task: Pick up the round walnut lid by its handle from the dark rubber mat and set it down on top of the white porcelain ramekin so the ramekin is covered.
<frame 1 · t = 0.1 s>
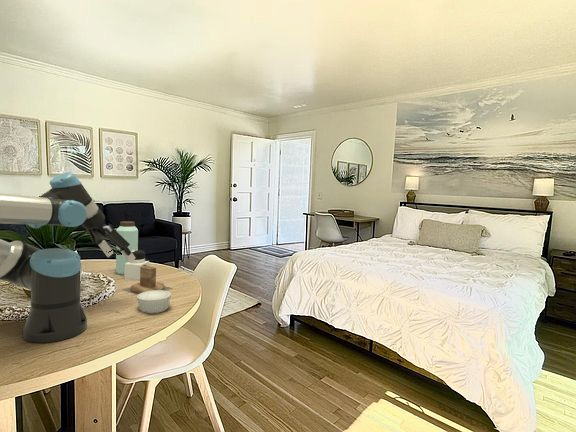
hand: (121, 257, 125), 15 cm above the table, tool tilted 35°, fingers open, 13 cm apart
water bottle: (126, 273, 159), on the table
ramekin: (153, 309, 116), on the table
mat: (147, 290, 135), on the table
container: (136, 278, 151), on the table
lid: (147, 289, 135), resting on mat
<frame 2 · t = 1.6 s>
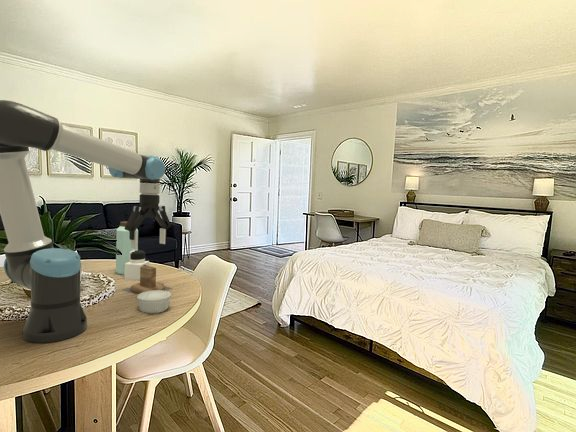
hand: (148, 245, 134), 19 cm above the table, tool pointing down, fingers open, 13 cm apart
nothing on the table moved.
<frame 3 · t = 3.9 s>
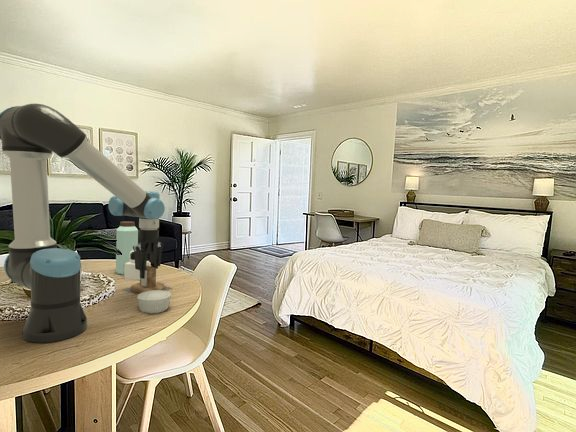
hand: (147, 284, 135), 2 cm above the table, tool pointing down, fingers closed on lid, 3 cm apart
lid: (147, 288, 135), point 1 cm above the table, touching gripper, mat
everything else where it was.
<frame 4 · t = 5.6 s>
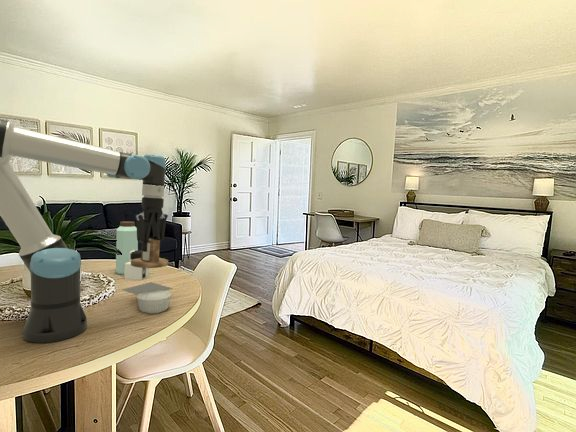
hand: (149, 259, 122), 16 cm above the table, tool pointing down, fingers closed on lid, 3 cm apart
lid: (149, 264, 123), point 14 cm above the table, touching gripper
everything else where it was.
when the fingers open (8 cm above the table, at t = 7.8 s): lid drops 1 cm, resting on ramekin.
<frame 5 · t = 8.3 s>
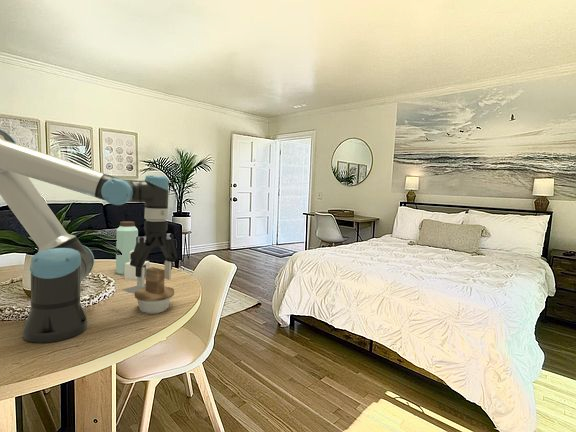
hand: (154, 282, 115), 10 cm above the table, tool pointing down, fingers open, 10 cm apart
ramekin: (153, 309, 116), on the table, touching lid
lid: (154, 294, 115), point 5 cm above the table, touching ramekin
everything else where it was.
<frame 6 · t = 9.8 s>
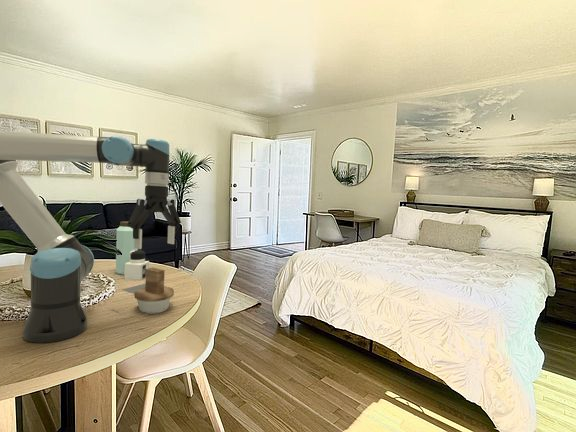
hand: (155, 246, 114), 23 cm above the table, tool pointing down, fingers open, 13 cm apart
nothing on the table moved.
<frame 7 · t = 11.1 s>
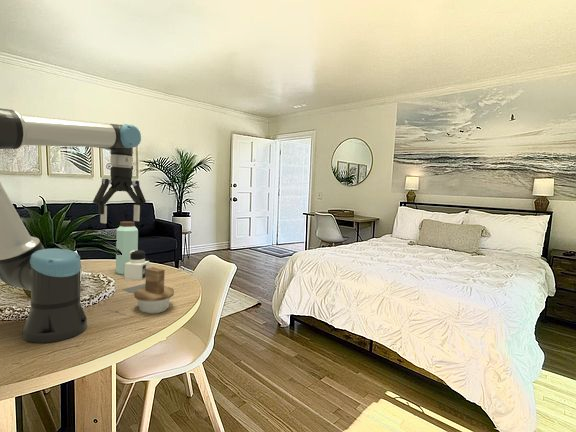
hand: (120, 222, 126), 29 cm above the table, tool pointing down, fingers open, 13 cm apart
nothing on the table moved.
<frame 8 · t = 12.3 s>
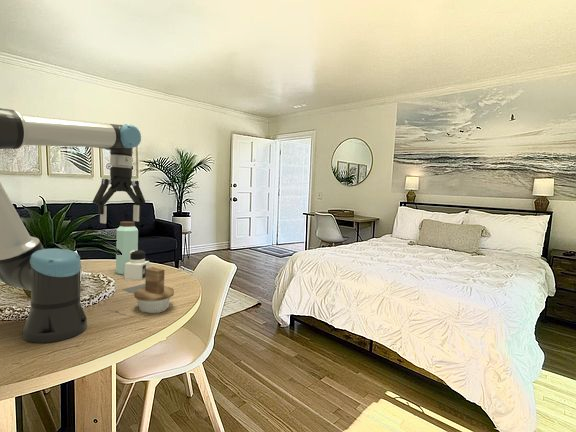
hand: (120, 222, 126), 29 cm above the table, tool pointing down, fingers open, 13 cm apart
nothing on the table moved.
at the end: lid 0.1 cm from the ramekin (horizontally); lid point 5.1 cm above the table; the gripper is holding nothing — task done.
